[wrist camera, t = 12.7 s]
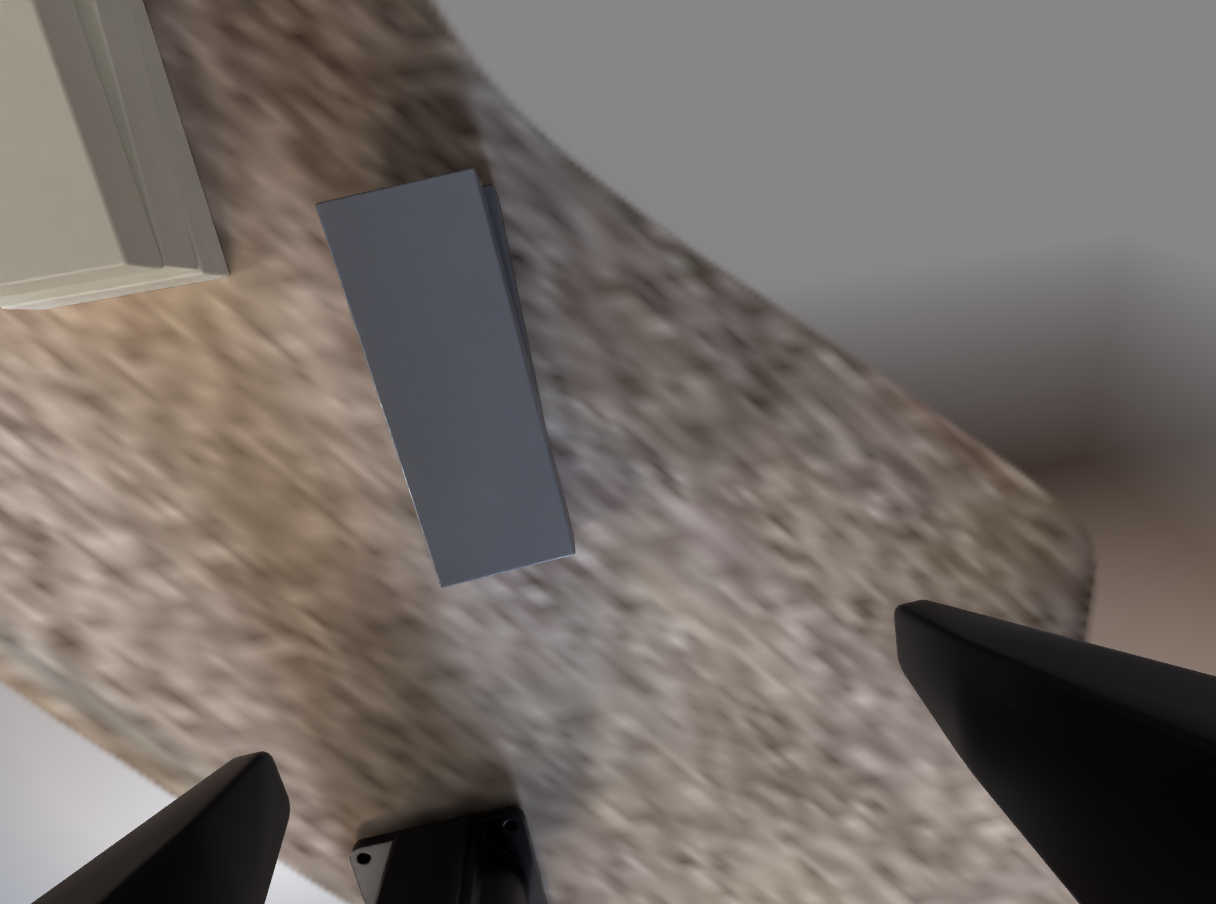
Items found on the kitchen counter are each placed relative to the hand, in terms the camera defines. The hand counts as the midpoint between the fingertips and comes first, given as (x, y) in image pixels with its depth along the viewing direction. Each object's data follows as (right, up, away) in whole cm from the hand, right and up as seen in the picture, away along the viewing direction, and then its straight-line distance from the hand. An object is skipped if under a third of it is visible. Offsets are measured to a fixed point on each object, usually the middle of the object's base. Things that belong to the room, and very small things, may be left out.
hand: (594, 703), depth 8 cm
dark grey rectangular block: (-4, +6, +11) cm, 13 cm away
